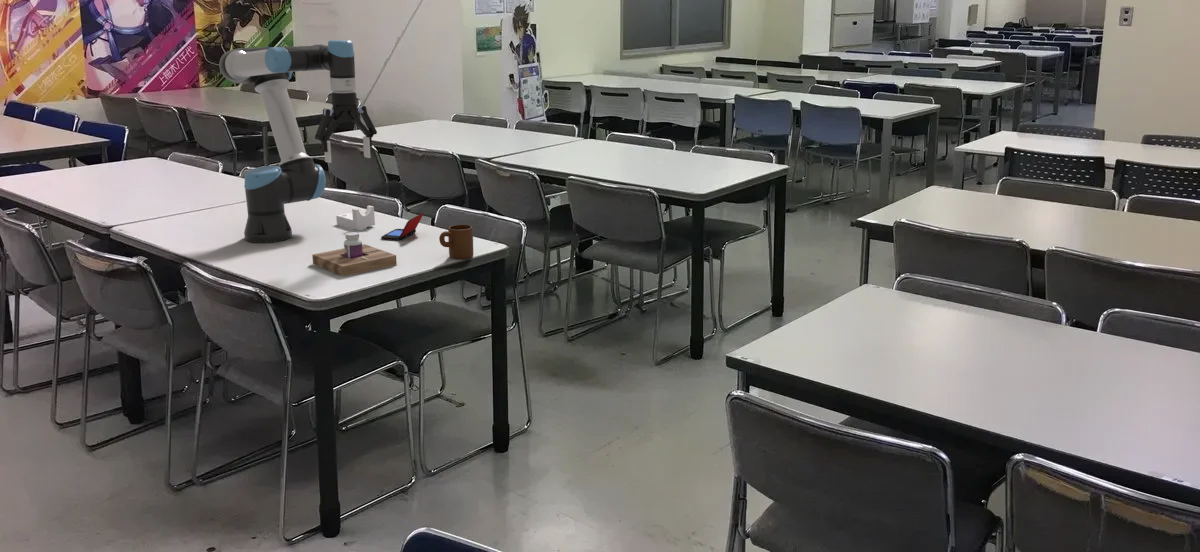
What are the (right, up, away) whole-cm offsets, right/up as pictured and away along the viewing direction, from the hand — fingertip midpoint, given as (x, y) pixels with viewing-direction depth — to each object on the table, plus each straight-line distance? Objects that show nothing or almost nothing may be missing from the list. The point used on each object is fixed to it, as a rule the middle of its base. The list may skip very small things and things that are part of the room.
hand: (348, 159), depth 304 cm
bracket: (-7, -19, +36) cm, 42 cm away
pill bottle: (+5, -33, -12) cm, 36 cm away
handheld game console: (+13, -24, +22) cm, 35 cm away
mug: (+35, -31, -4) cm, 47 cm away
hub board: (+5, -33, -12) cm, 36 cm away
